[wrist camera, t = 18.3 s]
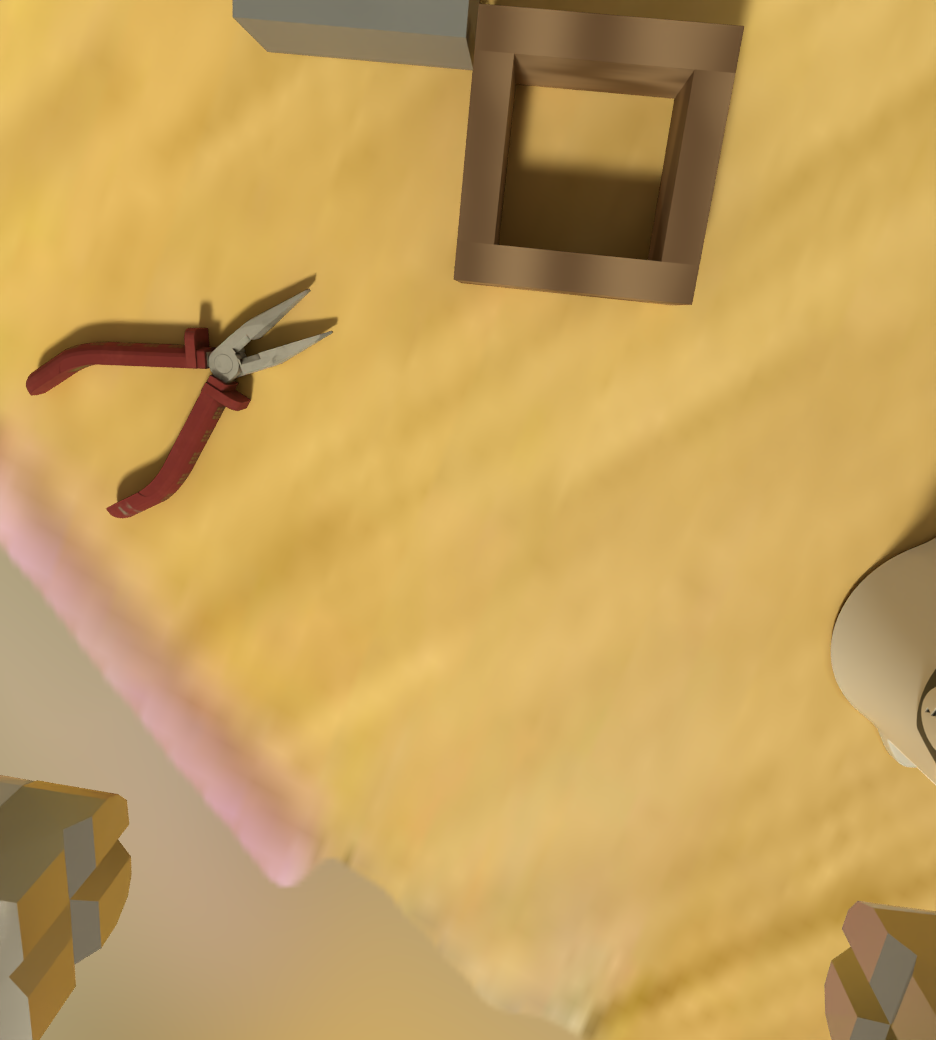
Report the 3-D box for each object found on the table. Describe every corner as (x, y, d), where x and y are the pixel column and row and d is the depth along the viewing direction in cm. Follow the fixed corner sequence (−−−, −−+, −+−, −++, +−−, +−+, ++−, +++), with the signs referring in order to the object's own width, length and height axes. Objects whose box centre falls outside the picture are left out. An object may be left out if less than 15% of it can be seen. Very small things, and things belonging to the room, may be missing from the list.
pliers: (370, 390, 46) (361, 395, 44) (131, 519, 50) (110, 529, 48) (280, 225, 44) (265, 220, 41) (36, 374, 48) (9, 378, 45)
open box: (717, 61, 39) (744, 26, 34) (673, 305, 43) (691, 304, 38) (484, 40, 39) (478, 3, 35) (462, 283, 43) (453, 279, 38)
